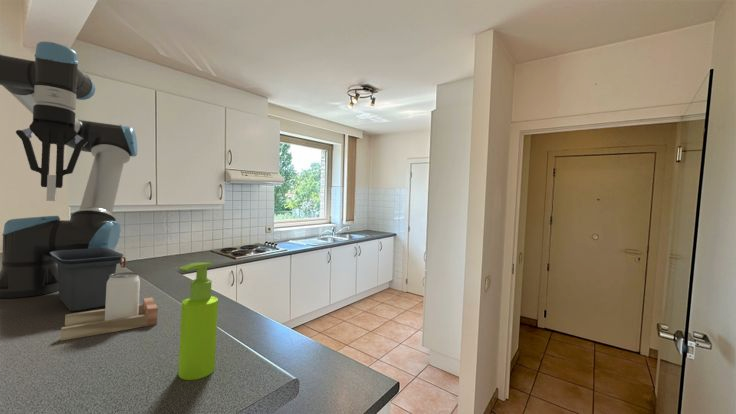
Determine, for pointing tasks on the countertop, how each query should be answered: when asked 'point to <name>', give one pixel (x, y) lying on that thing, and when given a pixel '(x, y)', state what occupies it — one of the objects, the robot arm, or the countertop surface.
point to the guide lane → (107, 321)
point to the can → (122, 295)
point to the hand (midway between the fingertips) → (51, 200)
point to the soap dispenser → (198, 326)
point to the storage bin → (85, 275)
